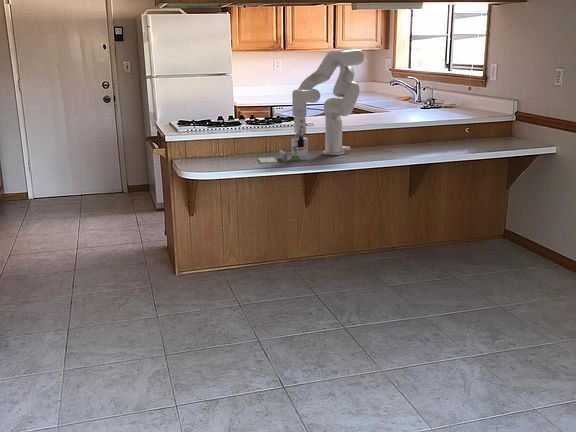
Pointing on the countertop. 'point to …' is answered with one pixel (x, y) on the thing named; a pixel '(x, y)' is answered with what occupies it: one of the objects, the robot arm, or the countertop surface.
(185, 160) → the countertop surface
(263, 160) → the pad
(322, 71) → the robot arm
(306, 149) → the ink box
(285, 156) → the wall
